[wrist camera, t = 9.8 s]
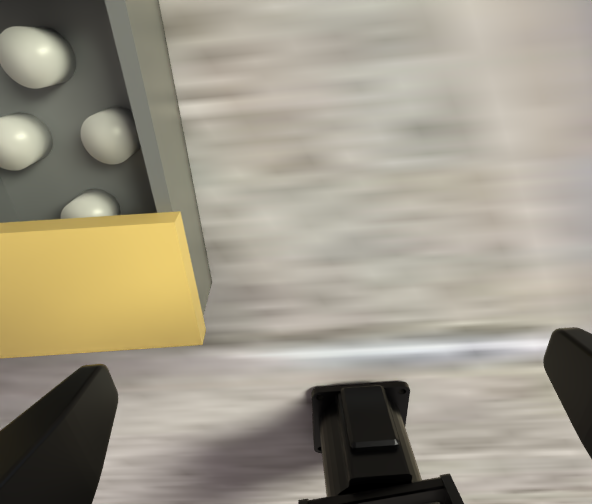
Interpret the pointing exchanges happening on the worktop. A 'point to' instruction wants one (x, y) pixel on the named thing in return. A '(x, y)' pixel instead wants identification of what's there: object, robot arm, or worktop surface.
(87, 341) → the parts tub
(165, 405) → the worktop surface
